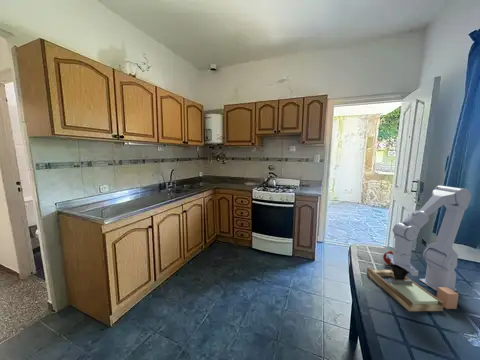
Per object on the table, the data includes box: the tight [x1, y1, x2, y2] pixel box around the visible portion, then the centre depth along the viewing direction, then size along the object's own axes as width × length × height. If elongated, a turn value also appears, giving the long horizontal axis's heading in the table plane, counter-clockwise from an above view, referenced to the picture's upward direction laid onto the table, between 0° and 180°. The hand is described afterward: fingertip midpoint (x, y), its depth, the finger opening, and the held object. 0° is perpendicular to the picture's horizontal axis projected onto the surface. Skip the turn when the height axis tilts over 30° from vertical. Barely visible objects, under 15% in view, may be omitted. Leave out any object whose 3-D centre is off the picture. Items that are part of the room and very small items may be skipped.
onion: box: [382, 249, 394, 266], centre depth 109 cm, size 6×6×8 cm
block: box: [436, 287, 460, 310], centre depth 80 cm, size 4×4×6 cm
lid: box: [388, 279, 438, 304], centre depth 83 cm, size 10×11×3 cm
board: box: [366, 266, 444, 312], centre depth 89 cm, size 13×24×3 cm, turn 3°
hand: (398, 282), depth 90 cm, fingers closed
